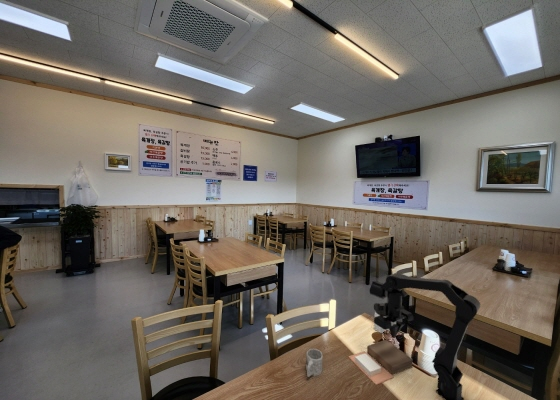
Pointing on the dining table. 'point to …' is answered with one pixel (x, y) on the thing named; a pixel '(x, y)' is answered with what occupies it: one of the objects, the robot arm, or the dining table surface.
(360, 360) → the grey flat block
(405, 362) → the brown rectangular block
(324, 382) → the dining table surface
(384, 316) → the jar
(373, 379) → the mat
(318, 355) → the mug
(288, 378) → the dining table surface
